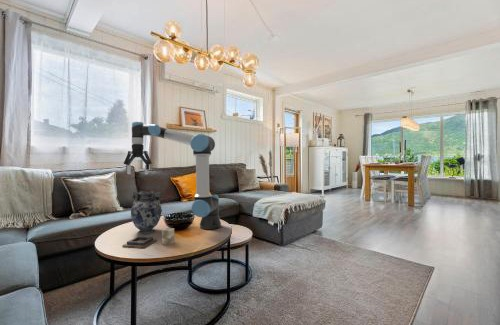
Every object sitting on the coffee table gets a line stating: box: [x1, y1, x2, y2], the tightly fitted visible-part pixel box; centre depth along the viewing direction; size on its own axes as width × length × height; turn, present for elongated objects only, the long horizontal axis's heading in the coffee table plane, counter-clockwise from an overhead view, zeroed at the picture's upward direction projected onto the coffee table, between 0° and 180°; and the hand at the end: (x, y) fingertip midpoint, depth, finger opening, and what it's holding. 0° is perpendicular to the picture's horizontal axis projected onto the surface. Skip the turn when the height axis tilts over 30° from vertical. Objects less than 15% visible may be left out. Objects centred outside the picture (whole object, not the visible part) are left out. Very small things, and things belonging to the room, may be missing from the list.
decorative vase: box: [130, 189, 163, 235], centre depth 160 cm, size 21×19×28 cm
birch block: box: [161, 227, 175, 246], centre depth 139 cm, size 5×5×8 cm
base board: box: [122, 236, 158, 249], centre depth 138 cm, size 13×13×2 cm
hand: (137, 174), depth 168 cm, fingers open, 13 cm apart
